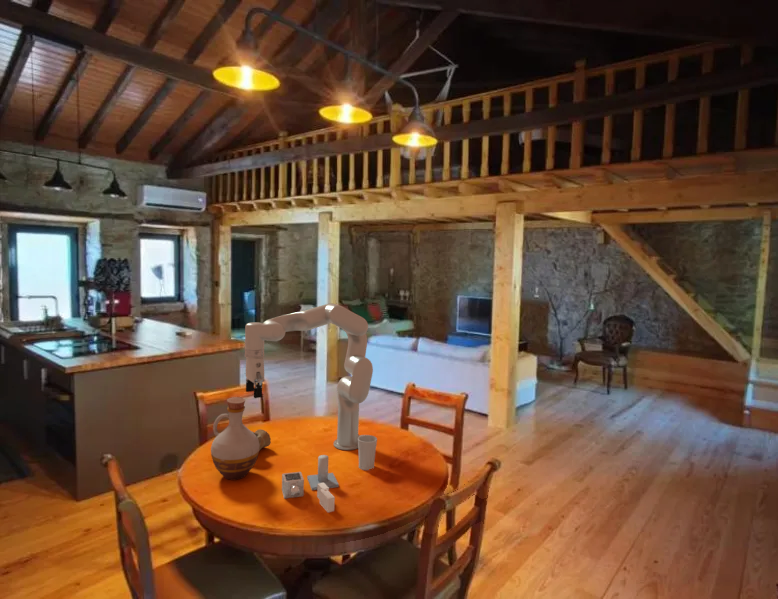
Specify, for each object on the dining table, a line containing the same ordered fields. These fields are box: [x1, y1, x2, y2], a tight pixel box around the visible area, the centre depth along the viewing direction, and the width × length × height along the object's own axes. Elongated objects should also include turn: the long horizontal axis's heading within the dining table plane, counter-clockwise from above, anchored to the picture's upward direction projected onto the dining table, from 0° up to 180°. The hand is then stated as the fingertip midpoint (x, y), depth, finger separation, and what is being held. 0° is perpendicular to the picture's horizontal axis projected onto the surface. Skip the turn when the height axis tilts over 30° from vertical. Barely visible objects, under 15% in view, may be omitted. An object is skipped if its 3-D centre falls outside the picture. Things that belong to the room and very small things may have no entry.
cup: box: [357, 434, 378, 471], centre depth 196 cm, size 8×8×12 cm
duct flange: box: [306, 454, 340, 491], centre depth 181 cm, size 10×10×10 cm
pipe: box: [251, 428, 272, 451], centre depth 204 cm, size 9×16×10 cm, turn 169°
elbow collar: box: [281, 471, 305, 499], centre depth 171 cm, size 10×7×6 cm, turn 19°
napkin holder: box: [316, 482, 336, 513], centre depth 166 cm, size 15×11×6 cm
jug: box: [210, 396, 260, 481], centre depth 184 cm, size 20×18×30 cm
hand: (253, 394), depth 195 cm, fingers open, 9 cm apart
